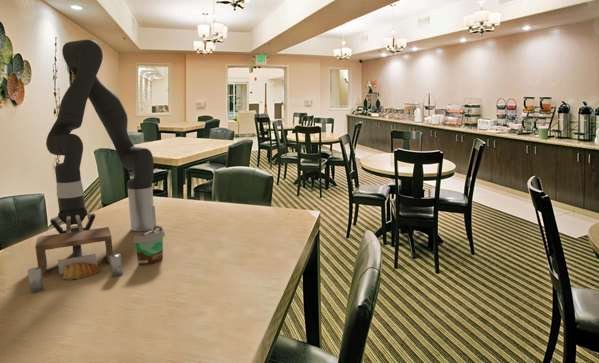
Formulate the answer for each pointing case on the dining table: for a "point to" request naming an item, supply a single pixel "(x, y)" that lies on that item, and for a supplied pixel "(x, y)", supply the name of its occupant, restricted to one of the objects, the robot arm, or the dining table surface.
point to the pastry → (79, 270)
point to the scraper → (76, 256)
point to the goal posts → (37, 280)
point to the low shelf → (71, 243)
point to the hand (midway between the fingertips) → (76, 244)
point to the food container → (150, 246)
